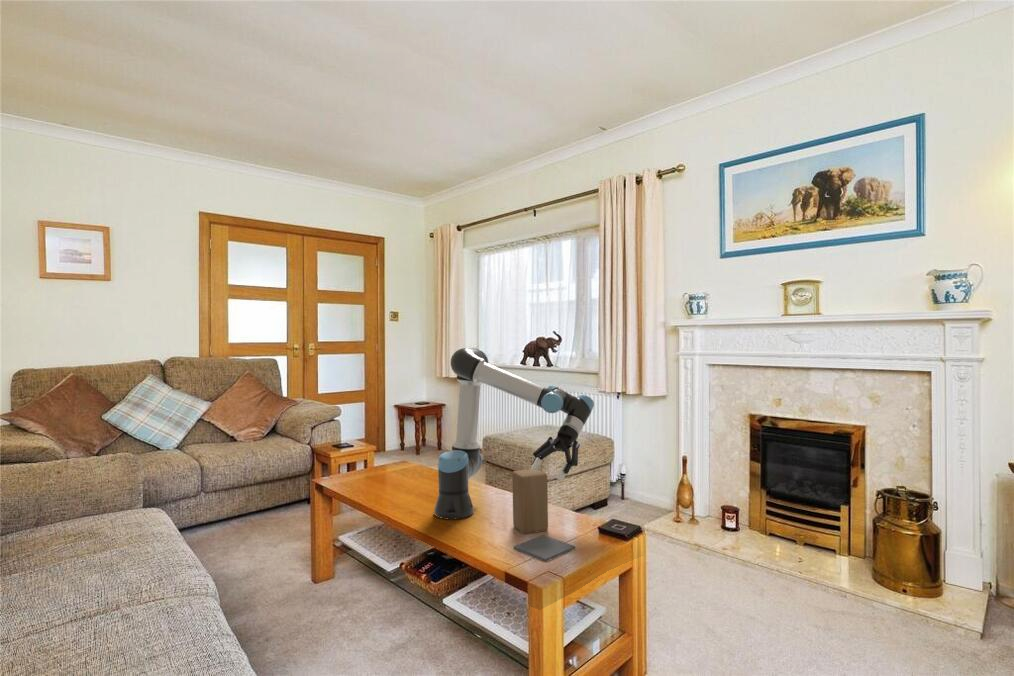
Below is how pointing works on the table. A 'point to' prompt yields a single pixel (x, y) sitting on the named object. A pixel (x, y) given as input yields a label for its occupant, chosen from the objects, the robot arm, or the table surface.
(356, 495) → the table surface
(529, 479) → the wooden block
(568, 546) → the mat
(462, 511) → the robot arm
